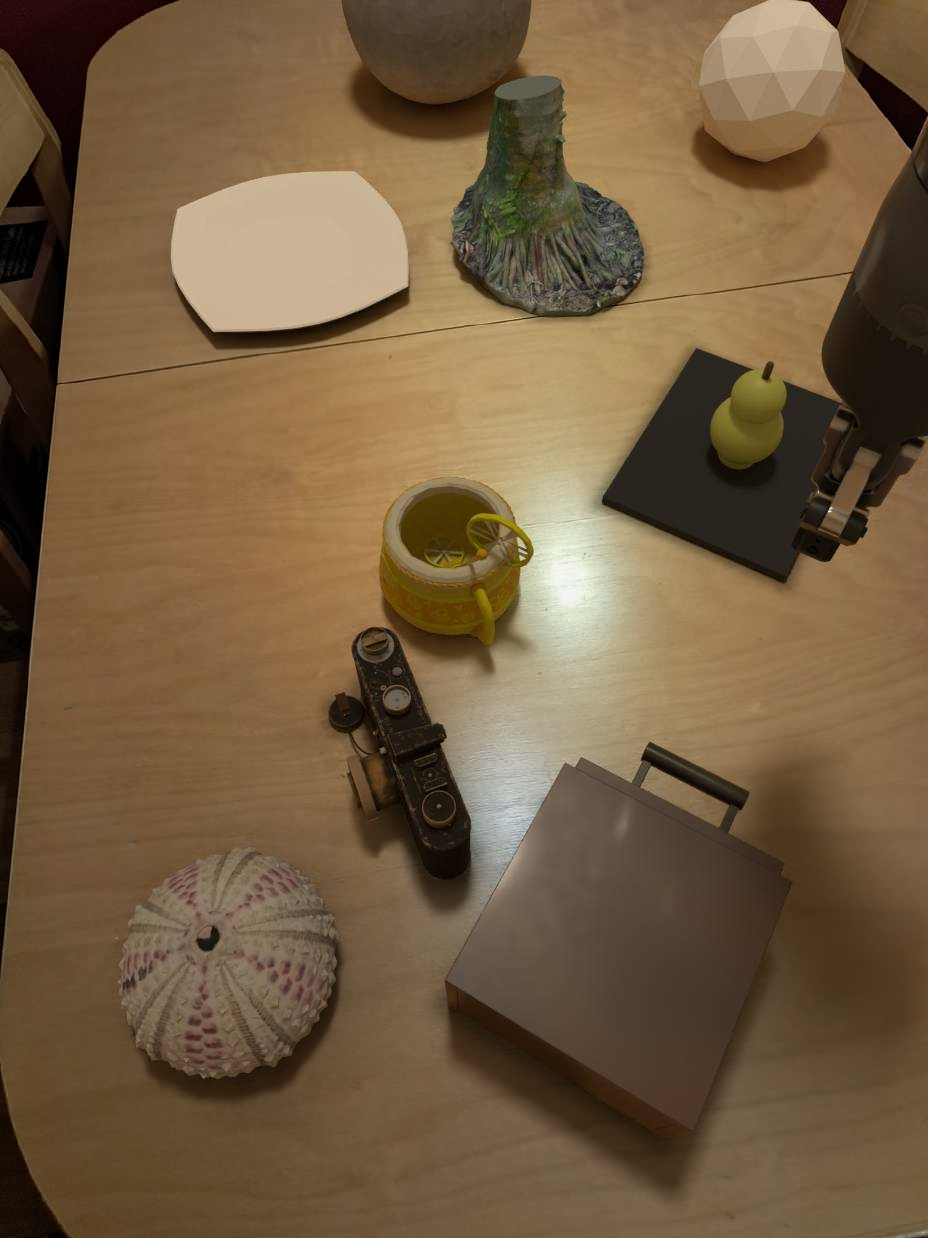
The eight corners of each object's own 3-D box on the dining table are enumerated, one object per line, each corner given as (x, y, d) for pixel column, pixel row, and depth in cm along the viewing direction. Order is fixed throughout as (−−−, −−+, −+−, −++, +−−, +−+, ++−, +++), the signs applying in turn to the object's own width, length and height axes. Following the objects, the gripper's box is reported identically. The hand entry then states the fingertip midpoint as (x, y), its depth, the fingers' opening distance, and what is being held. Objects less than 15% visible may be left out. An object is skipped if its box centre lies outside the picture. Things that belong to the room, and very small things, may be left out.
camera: (318, 692, 69) (301, 639, 63) (403, 664, 71) (396, 608, 64) (389, 903, 62) (379, 869, 55) (484, 867, 63) (486, 829, 56)
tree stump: (531, 352, 88) (503, 159, 75) (425, 277, 101) (385, 101, 87) (683, 271, 92) (682, 74, 79) (564, 209, 105) (545, 31, 91)
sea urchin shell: (280, 1123, 55) (254, 1116, 48) (87, 1027, 58) (35, 1007, 51) (378, 911, 61) (367, 877, 54) (199, 833, 64) (167, 791, 57)
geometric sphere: (717, 169, 110) (723, 20, 104) (852, 157, 102) (867, -5, 97) (673, 166, 99) (678, -1, 93) (822, 152, 91) (836, -31, 85)
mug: (360, 557, 76) (344, 460, 65) (483, 512, 78) (486, 411, 68) (422, 687, 70) (415, 602, 59) (554, 634, 72) (569, 544, 62)
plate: (199, 367, 86) (194, 351, 85) (157, 215, 98) (152, 199, 96) (437, 311, 90) (436, 294, 89) (370, 171, 101) (369, 154, 100)
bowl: (562, 79, 110) (575, -66, 97) (447, 160, 102) (445, 14, 89) (431, 19, 117) (427, -124, 104) (315, 90, 109) (294, -55, 96)
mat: (862, 417, 83) (865, 411, 82) (783, 582, 74) (786, 576, 74) (694, 353, 87) (696, 347, 87) (601, 502, 78) (602, 496, 78)
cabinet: (553, 809, 65) (565, 762, 57) (753, 916, 61) (793, 880, 54) (447, 1005, 58) (444, 980, 51) (663, 1138, 55) (693, 1133, 47)
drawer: (597, 745, 66) (609, 703, 60) (778, 837, 63) (809, 802, 57) (473, 974, 58) (474, 951, 53) (672, 1093, 55) (696, 1083, 49)
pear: (780, 445, 80) (820, 352, 71) (756, 491, 78) (794, 401, 69) (717, 420, 82) (749, 325, 73) (691, 464, 79) (720, 372, 70)
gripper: (1017, 435, 32) (841, 671, 47) (1095, 217, 38) (916, 489, 53) (804, 356, 34) (700, 607, 49) (910, 160, 40) (788, 439, 54)
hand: (813, 546), depth 51 cm, fingers closed
